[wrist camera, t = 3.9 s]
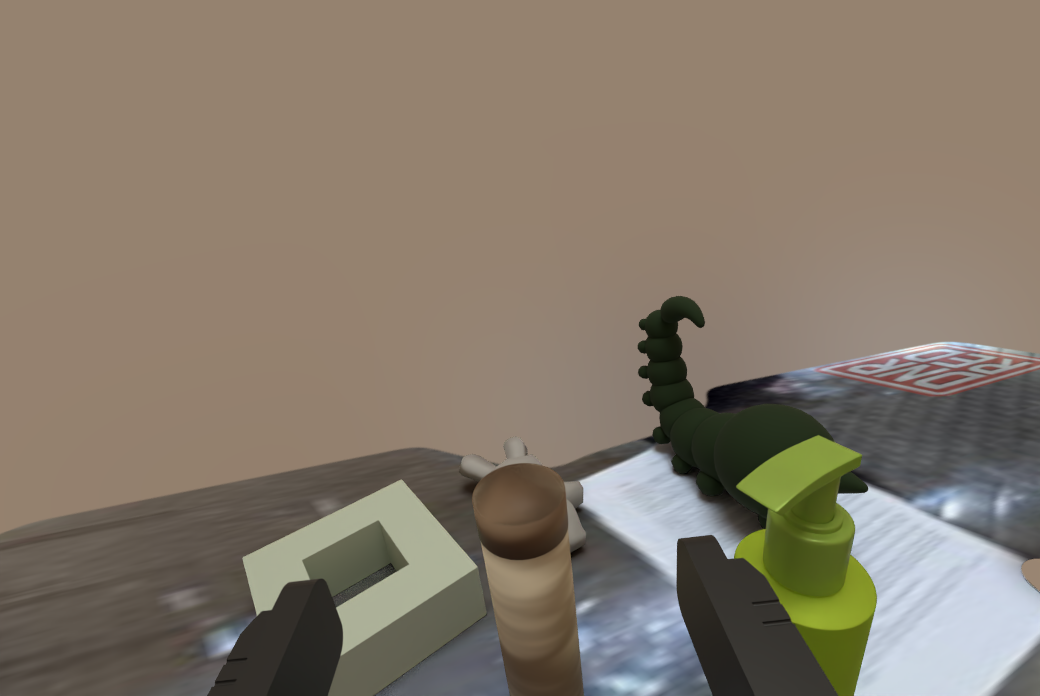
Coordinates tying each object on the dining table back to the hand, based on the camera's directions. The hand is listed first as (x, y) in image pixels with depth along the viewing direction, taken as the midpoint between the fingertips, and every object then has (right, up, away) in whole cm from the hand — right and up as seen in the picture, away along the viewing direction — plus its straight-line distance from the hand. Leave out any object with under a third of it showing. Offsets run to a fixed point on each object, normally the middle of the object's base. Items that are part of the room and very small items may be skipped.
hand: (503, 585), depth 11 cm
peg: (+2, -18, +19) cm, 26 cm away
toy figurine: (+21, -8, +37) cm, 43 cm away
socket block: (-12, -16, +28) cm, 35 cm away
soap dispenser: (+15, -18, +17) cm, 29 cm away
